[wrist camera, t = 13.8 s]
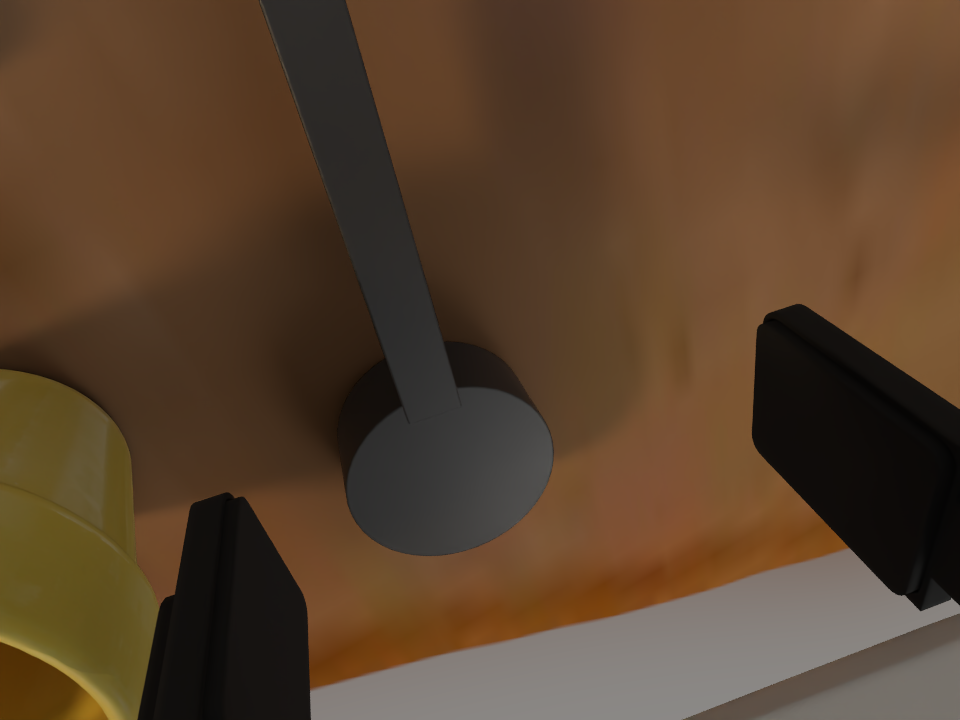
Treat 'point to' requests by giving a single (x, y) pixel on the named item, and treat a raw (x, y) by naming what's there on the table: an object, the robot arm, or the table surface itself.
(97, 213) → the table surface
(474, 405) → the ladle
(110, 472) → the flower pot
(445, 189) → the table surface
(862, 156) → the table surface
